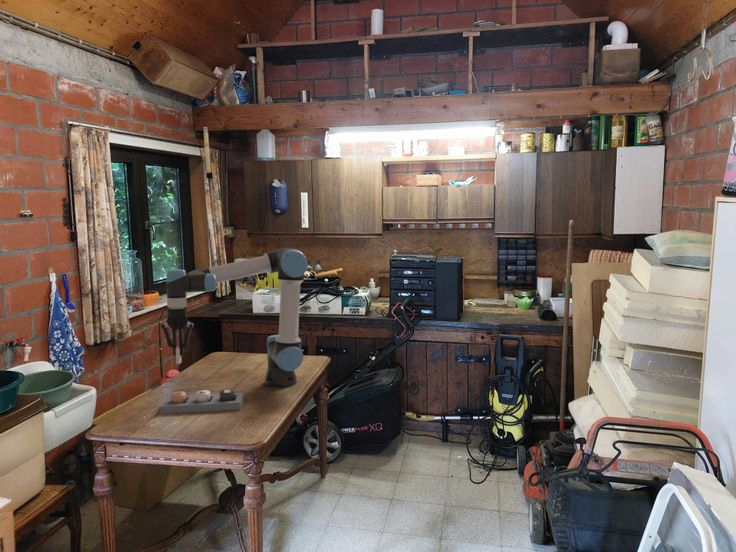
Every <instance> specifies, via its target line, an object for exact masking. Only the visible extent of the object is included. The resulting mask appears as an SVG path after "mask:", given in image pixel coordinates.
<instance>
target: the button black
mask: <svg viewBox="0 0 736 552" xmlns="http://www.w3.org/2000/svg"><path fill="white" fill-rule="evenodd" d="M235 393H236V392H235V389H233V388H225V389H222V390H220V391H219V394H220V401H233V400H235Z"/></svg>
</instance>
